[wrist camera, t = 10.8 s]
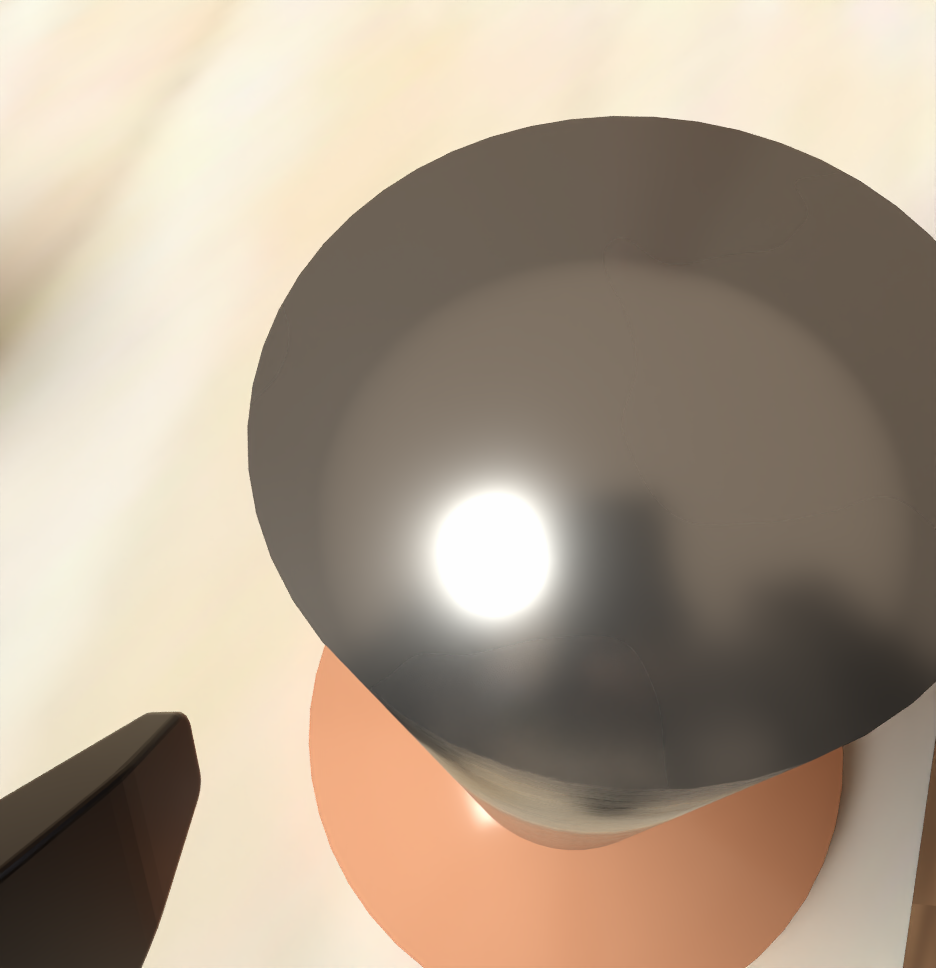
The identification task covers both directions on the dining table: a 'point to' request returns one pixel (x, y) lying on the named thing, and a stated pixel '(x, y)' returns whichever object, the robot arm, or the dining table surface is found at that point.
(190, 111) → the dining table surface
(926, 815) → the pocket block
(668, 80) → the dining table surface
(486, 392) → the peg
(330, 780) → the coaster
